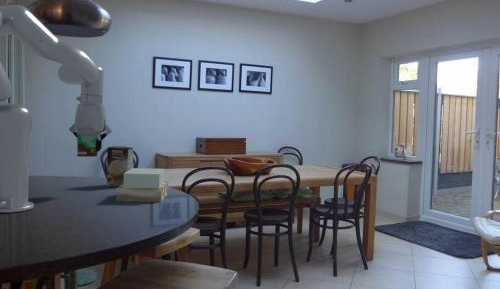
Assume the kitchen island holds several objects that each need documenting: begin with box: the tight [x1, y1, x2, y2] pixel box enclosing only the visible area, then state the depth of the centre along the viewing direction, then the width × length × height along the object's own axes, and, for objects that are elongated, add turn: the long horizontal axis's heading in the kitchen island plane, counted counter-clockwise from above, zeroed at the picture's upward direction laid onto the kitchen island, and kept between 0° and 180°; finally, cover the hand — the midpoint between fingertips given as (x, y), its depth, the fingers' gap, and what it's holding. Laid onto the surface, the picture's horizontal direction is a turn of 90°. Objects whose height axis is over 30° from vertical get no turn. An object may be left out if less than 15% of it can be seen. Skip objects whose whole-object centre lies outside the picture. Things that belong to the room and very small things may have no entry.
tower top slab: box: [124, 167, 165, 189], centre depth 159 cm, size 16×12×5 cm
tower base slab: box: [116, 181, 169, 203], centre depth 159 cm, size 17×15×5 cm
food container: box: [76, 128, 101, 158], centre depth 159 cm, size 12×6×10 cm, turn 178°
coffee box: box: [106, 146, 134, 187], centre depth 183 cm, size 9×6×16 cm
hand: (89, 150), depth 160 cm, fingers closed on food container, 5 cm apart
